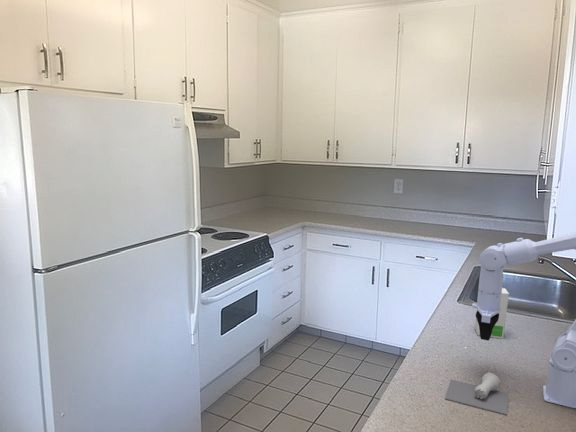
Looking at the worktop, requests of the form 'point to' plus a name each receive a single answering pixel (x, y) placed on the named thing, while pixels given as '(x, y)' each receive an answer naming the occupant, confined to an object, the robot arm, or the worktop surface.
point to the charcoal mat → (465, 395)
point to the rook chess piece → (487, 385)
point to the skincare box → (500, 325)
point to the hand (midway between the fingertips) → (485, 338)
